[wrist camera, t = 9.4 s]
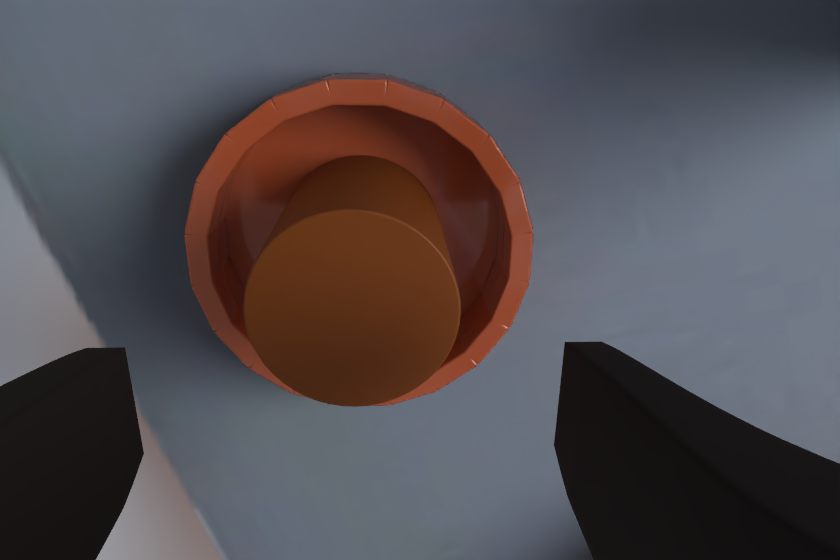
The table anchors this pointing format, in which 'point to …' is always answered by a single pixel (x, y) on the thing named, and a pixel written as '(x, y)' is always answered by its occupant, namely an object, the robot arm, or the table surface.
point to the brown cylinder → (354, 286)
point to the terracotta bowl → (370, 136)
